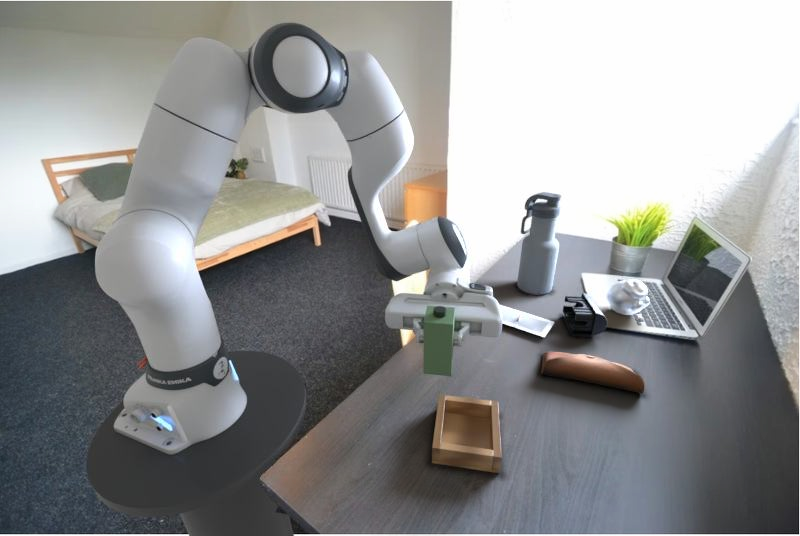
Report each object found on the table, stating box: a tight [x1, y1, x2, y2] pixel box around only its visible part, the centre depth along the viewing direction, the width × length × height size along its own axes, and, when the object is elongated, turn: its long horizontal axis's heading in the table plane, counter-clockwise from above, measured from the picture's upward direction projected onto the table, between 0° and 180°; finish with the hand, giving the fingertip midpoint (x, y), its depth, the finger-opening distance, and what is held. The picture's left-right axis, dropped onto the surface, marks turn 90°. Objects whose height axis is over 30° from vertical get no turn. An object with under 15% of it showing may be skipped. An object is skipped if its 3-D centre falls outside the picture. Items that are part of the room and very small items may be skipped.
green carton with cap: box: [423, 306, 455, 377], centre depth 60 cm, size 4×5×11 cm
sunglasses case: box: [540, 351, 645, 395], centre depth 75 cm, size 18×7×7 cm
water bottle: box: [516, 191, 562, 296], centre depth 104 cm, size 10×10×28 cm
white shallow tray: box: [499, 304, 556, 338], centre depth 93 cm, size 8×15×2 cm, turn 53°
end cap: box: [562, 292, 609, 338], centre depth 90 cm, size 10×7×7 cm
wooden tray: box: [431, 393, 503, 474], centre depth 62 cm, size 10×11×4 cm
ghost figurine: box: [606, 278, 651, 316], centre depth 95 cm, size 9×10×10 cm
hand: (439, 341), depth 59 cm, fingers closed on green carton with cap, 4 cm apart
